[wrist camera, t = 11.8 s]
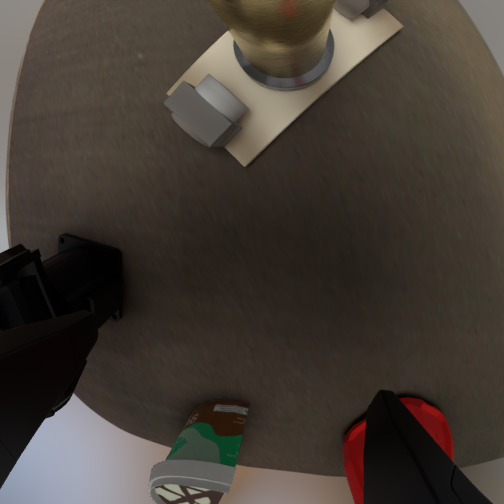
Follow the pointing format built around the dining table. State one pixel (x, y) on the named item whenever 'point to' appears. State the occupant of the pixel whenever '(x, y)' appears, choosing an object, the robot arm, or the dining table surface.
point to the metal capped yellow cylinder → (280, 39)
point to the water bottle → (356, 437)
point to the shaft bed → (261, 98)
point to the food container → (202, 456)
